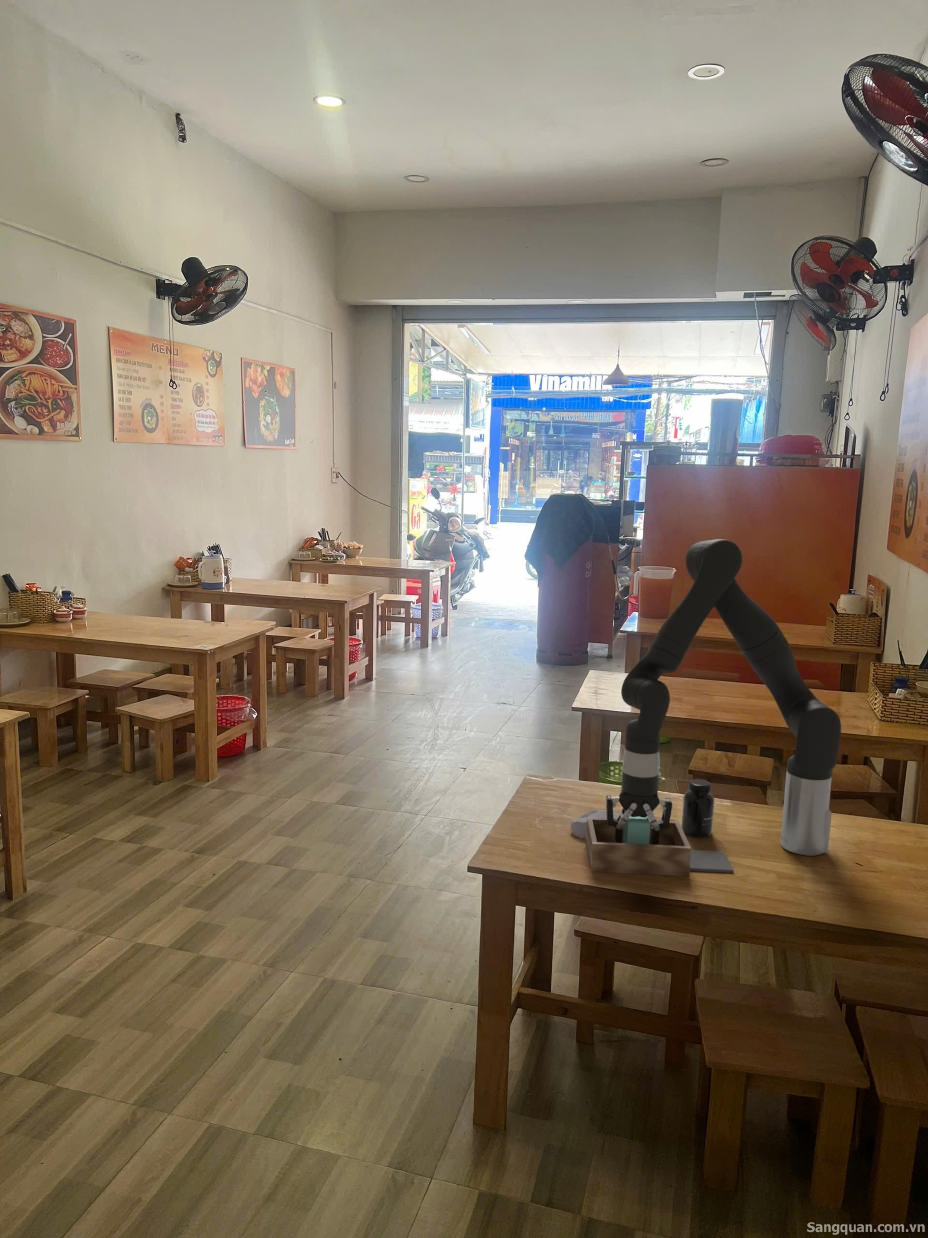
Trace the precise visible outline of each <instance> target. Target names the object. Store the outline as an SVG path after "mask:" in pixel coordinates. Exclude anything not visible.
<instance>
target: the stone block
mask: <svg viewBox="0 0 928 1238" xmlns="http://www.w3.org/2000/svg"><path fill="white" fill-rule="evenodd" d="M619 814H620V813H616V812H614V811H613V818H614V819H617V818H618V816H619ZM587 817H589V818H607V813H606V809H605V810H604V809H603V810H600V809H597V810H590V811H588V812H585V813H584V814H582V815H581V816H580V817H578V818H577V819H575V820H573V821H572V822H571V824H570V830H571V832H572V835H573V836H576V837H578V838H580V839H585V840H586V833H587Z"/></svg>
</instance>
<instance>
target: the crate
mask: <svg viewBox="0 0 928 1238" xmlns="http://www.w3.org/2000/svg"><path fill="white" fill-rule="evenodd" d="M658 821H659V820H657V822H658ZM649 822H650V820H649ZM652 827H653V825H652V823H651V822H650V836H649V845H648V844H626V843H624V840H625V824H624V825H623V827H622V828H623V838H622V843H616V840H615V827H614V826H609V825H608V821H607V818H589V817H587V833H586V839H585V845H586V849H587V851H586V852H587V857H588V861H589V868H590V872H595V873H596V872H598V873H613V874H615V873H617V874H618V873H619V874H639V875H640V874H641V875H657V876H658V875H661V876H679V877H680V876H682V877H689V876H690V872H691V871H690V859H691V850H692V847H691V844H690V843H689V841H688V839H687V836H686V834H685V833H684V832H683V829H682V824H681V823H680V821H676V820H675V821H673V820H670V822H669V827H668V828H667V829H665V828H663V829H661V830H660V831H659V843H658V845H657V844H656V845H651V829H652Z"/></svg>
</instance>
